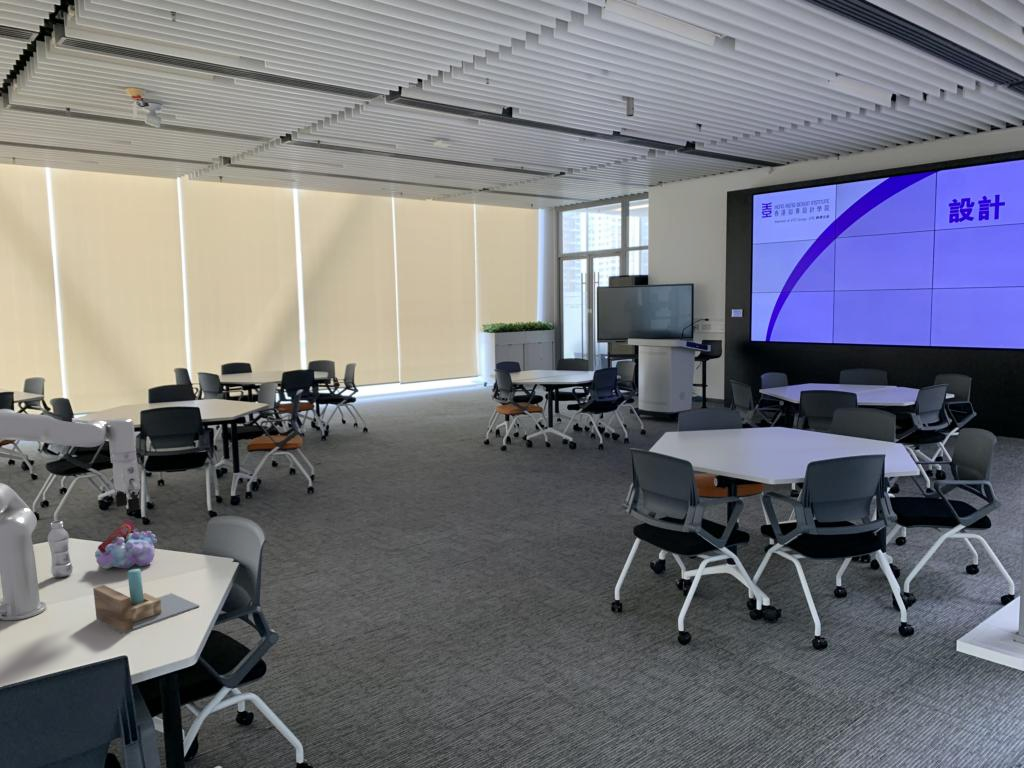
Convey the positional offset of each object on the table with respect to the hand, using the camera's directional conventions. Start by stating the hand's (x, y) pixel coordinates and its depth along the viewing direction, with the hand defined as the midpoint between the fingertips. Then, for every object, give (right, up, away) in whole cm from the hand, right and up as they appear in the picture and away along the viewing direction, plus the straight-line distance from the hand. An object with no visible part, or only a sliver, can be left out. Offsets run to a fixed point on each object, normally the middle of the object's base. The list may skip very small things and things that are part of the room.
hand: (128, 508), depth 249 cm
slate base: (+13, -30, -13) cm, 36 cm away
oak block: (+11, -31, -16) cm, 36 cm away
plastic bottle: (-35, -29, +24) cm, 51 cm away
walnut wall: (+7, -32, -21) cm, 39 cm away
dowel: (+11, -30, -16) cm, 36 cm away
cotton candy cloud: (-17, -27, +33) cm, 46 cm away
